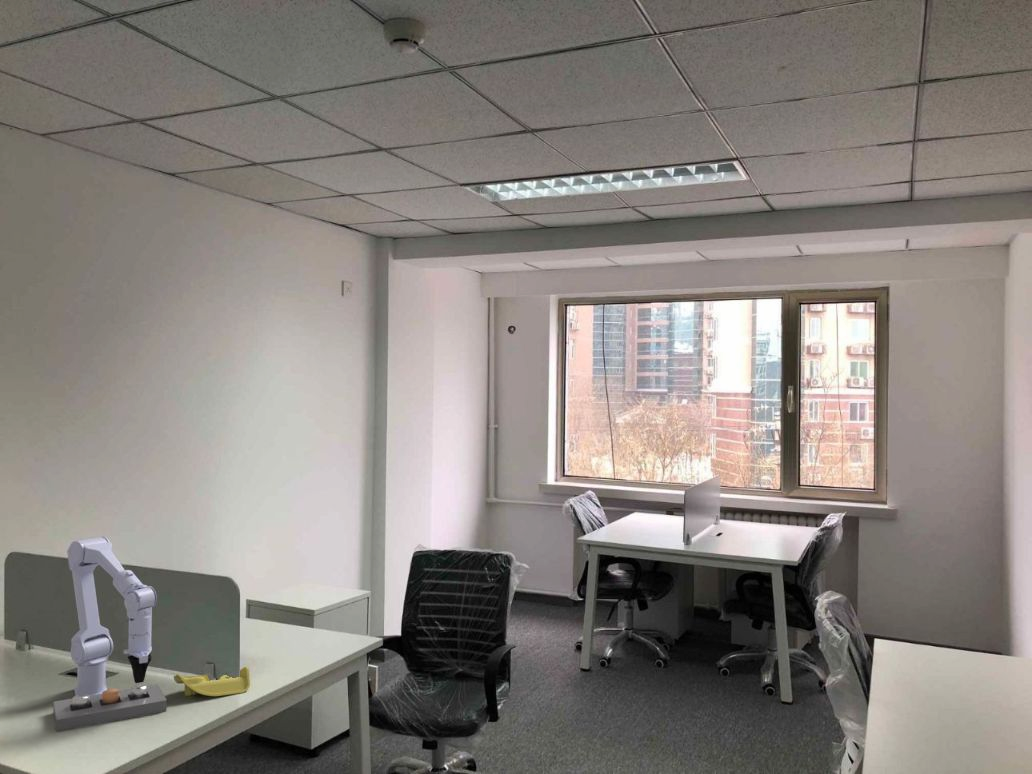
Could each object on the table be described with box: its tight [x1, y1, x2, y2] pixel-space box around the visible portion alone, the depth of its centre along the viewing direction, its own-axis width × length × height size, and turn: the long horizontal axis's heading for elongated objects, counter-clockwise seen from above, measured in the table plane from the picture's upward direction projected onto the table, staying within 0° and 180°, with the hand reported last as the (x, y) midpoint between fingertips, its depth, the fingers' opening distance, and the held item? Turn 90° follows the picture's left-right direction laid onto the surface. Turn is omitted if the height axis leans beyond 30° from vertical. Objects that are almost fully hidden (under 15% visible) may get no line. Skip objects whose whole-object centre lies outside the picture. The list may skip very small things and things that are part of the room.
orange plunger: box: [102, 688, 120, 703], centre depth 216 cm, size 4×4×2 cm
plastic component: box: [173, 666, 251, 697], centre depth 232 cm, size 20×7×10 cm
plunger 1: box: [72, 694, 90, 709], centre depth 212 cm, size 4×4×2 cm
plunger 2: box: [130, 683, 148, 698], centre depth 220 cm, size 4×4×2 cm
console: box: [52, 683, 168, 732], centre depth 216 cm, size 14×26×3 cm, turn 123°
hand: (139, 681), depth 220 cm, fingers closed
